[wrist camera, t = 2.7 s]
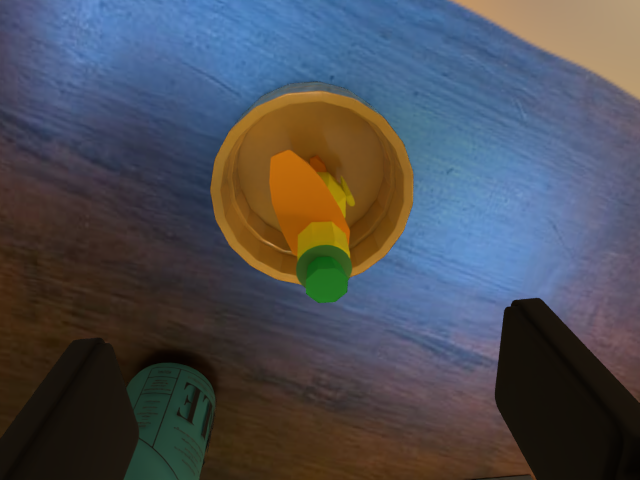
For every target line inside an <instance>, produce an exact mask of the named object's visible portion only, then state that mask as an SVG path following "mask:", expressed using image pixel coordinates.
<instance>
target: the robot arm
mask: <svg viewBox="0 0 640 480" xmlns="http://www.w3.org/2000/svg"><path fill="white" fill-rule="evenodd" d="M495 400H496V404H497V407H498V409H499V411H500V413H501V415H502V417H503V419H504V420H505V422H506V424H507V426H508V428H509V430H510V431H511V433H512V435H513V437H514V439H515V441H516V442H517V444H518V446H519V448H520V450H521V452H522V453H523V455H524V457H525V459H526V461H527V463H528V464H529V466H530V468H531V470H532V472H533V474H534V475H535V477H536V479H537V480H640V403H639V402H638V401H637V400H636V399H635V398H634V397H633V396H632V395H631V394H630V392H629V391H628V390H627V389H626V388H625V387H624V386H623V385H622V384H621V383H620V382H619V381H618V380H617V379H616V378H615V377H614V376H613V374H612V373H611V372H610V371H609V370H608V369H607V368H606V367H605V366H604V365H603V364H602V363H601V362H600V361H599V360H598V359H597V357H596V356H594V354H593V353H592V352H591V351H590V350H589V349H588V348H587V347H586V346H585V345H584V344H583V343H582V342H581V341H580V340H579V339H578V338H577V336H576V335H575V334H574V333H573V332H572V331H571V330H570V329H569V328H568V327H567V326H566V325H565V324H564V323H563V322H562V321H561V319H560V318H559V317H558V316H557V315H556V314H555V313H554V312H553V311H552V310H551V309H550V308H549V307H548V306H547V305H546V304H545V303H544V301H543V300H541V299H540V298H532V299H521V300H514V301H513V302H512V304H511V307H506V308H505V310H504V317H503V326H502V334H501V343H500V352H499V361H498V369H497V378H496V387H495ZM138 440H139V426H138V423H137V420H136V417H135V414H134V411H133V408H132V405H131V402H130V399H129V396H128V393H127V389H126V386H125V383H124V380H123V377H122V374H121V371H120V368H119V365H118V362H117V359H116V356H115V353H114V350H113V347H112V345H111V344H109V343H105V342H104V340H103V339H102V338H91V339H80V340H74V341H73V342H72V343H71V344H70V345H69V346H68V348H67V349H66V350H65V352H64V353H63V354H62V356H61V357H60V359H59V360H58V361H57V363H56V364H55V365H54V367H53V368H52V369H51V371H50V372H49V373H48V375H47V376H46V378H45V379H44V380H43V382H42V383H41V384H40V386H39V387H38V388H37V390H36V391H35V392H34V394H33V395H32V397H31V398H30V399H29V401H28V402H27V403H26V405H25V406H24V407H23V409H22V410H21V411H20V413H19V414H18V415H17V417H16V418H15V420H14V421H13V422H12V424H11V425H10V426H9V428H8V429H7V430H6V432H5V433H4V434H3V436H2V437H1V439H0V480H124V477H125V474H126V472H127V469H128V467H129V464H130V462H131V459H132V456H133V454H134V451H135V449H136V446H137V444H138Z"/></svg>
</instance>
